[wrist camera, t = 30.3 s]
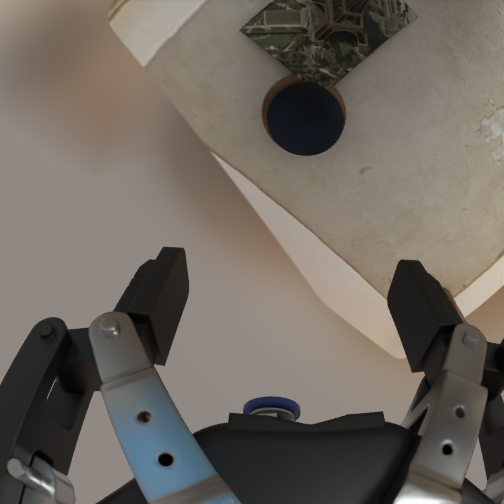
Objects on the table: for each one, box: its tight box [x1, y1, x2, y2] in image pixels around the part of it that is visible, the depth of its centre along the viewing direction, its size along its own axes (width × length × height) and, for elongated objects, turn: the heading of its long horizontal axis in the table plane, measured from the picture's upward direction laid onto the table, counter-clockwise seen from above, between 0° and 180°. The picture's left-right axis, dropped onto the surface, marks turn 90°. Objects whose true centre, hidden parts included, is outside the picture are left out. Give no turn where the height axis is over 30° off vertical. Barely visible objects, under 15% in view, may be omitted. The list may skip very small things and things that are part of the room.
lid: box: [267, 81, 344, 156], centre depth 24 cm, size 7×7×3 cm
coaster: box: [262, 75, 346, 143], centre depth 26 cm, size 8×8×1 cm
